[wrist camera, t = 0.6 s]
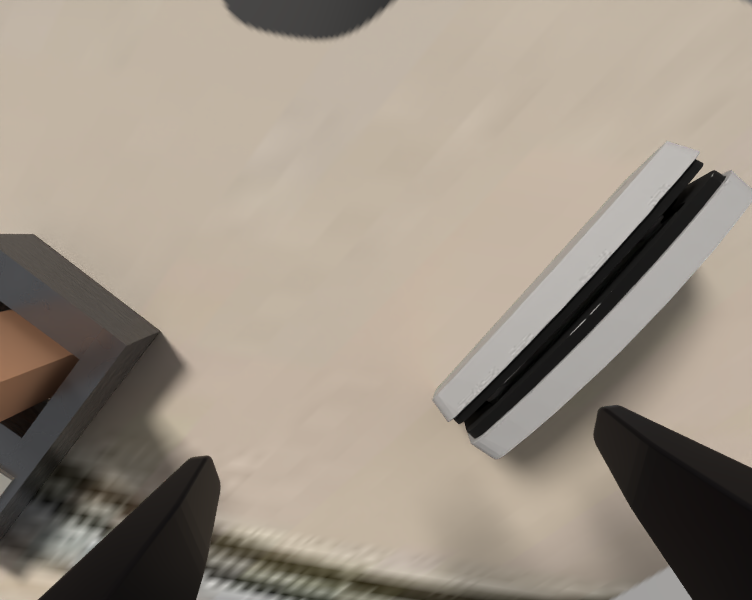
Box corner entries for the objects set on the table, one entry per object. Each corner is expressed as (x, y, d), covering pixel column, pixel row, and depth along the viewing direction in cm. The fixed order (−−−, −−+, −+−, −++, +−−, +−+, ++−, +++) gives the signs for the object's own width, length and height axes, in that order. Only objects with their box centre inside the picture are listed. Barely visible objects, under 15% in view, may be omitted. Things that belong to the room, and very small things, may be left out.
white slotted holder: (493, 440, 24) (501, 521, 14) (436, 387, 25) (407, 430, 15) (691, 233, 21) (863, 161, 12) (618, 185, 22) (720, 85, 13)
